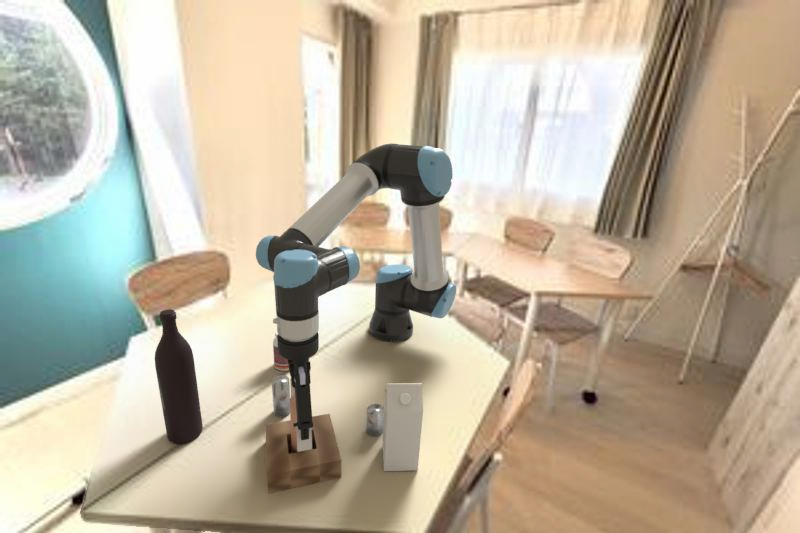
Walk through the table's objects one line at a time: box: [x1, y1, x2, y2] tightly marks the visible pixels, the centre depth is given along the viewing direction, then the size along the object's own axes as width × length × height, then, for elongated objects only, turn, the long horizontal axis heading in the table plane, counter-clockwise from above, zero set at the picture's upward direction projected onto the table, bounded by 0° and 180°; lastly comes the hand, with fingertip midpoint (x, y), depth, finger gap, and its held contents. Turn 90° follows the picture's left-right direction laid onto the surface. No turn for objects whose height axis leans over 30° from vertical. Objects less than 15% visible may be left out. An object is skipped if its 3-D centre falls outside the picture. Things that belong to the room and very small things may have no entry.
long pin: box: [289, 395, 312, 454], centre depth 84 cm, size 4×4×15 cm
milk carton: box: [381, 382, 424, 472], centre depth 85 cm, size 7×7×19 cm
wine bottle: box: [154, 308, 204, 445], centre depth 87 cm, size 7×7×30 cm
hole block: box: [264, 413, 342, 494], centre depth 86 cm, size 14×14×4 cm
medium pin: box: [271, 374, 291, 418], centre depth 98 cm, size 4×4×9 cm
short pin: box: [365, 403, 384, 438], centre depth 95 cm, size 4×4×6 cm
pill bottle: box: [272, 329, 289, 372], centre depth 117 cm, size 6×6×11 cm
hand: (300, 424), depth 84 cm, fingers open, 13 cm apart
